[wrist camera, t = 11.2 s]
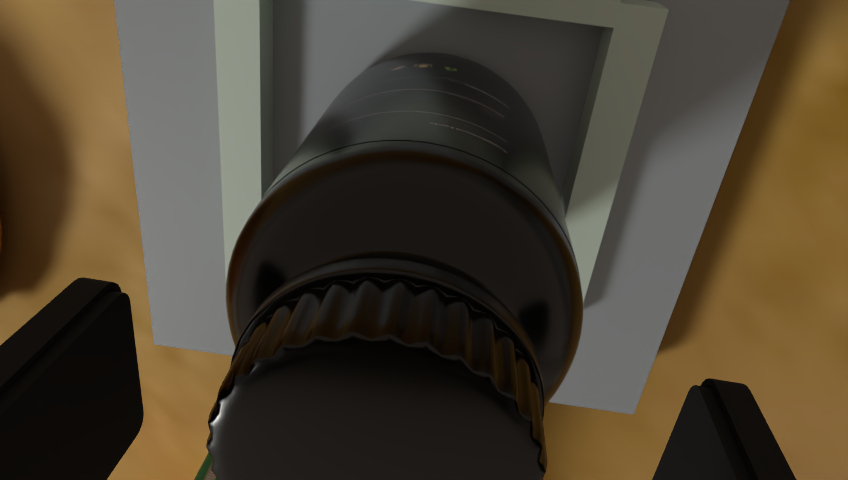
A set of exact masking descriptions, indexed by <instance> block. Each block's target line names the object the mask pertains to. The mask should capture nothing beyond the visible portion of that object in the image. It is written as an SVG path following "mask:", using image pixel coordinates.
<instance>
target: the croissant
mask: <svg viewBox="0 0 848 480" xmlns="http://www.w3.org/2000/svg"><path fill="white" fill-rule="evenodd" d="M1 244H2V229H1V216H0V256H1Z"/></svg>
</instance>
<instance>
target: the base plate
mask: <svg viewBox="0 0 848 480" xmlns="http://www.w3.org/2000/svg"><path fill="white" fill-rule="evenodd" d="M789 2H790V0H114V3H115V12H116V20H117V29H118V37H119V46H120V55H121V63H122V72H123V81H124V89H125V98H126V106H127V115H128V124H129V132H130V141H131V149H132V158H133V167H134V175H135V184H136V193H137V201H138V210H139V218H140V227H141V236H142V244H143V253H144V261H145V270H146V279H147V287H148V296H149V304H150V313H151V322H152V330H153V339H154V344H156V345H162V346H169V347H176V348H183V349H190V350H197V351H203V352H210V353H217V354H224V355H231V356H233V353H234V350H235V345H234V342H233V339H232V336H231V332H230V327H229V322H228V317H227V309H226V279H227V272H228V266H229V262H230V259H231V255H232V251H233V248H234V246H235V244H236V241H237V239H238V236H239V234H240V233H241V231H242V229H243V227H244V225H245V223H246V222H247V220H248V218H249V216H250V215H251V214H252V212H253V211H254V209H255V208H256V206H257V205H258V204H259V202H260V201H261V199H262V197H264V194H265V193H266V192H267V190H268V189H269V188H270V186H271V185H272V183H273V182H274V181H275V179H276V178H277V177H278V175H279V174H280V172H281V171H282V170H283V168H284V167H285V166H286V164H287V163H288V162H289V160H290V159H291V157H292V156H293V155H294V153H295V152H296V151H297V149H298V148H299V147H300V145H301V144H302V142H303V141H304V140H305V138H306V137H307V136H308V134H309V133H310V131H311V130H312V129H313V127H314V126H315V125H316V123H317V122H318V121H319V119H320V118H321V116H322V115H323V114H324V112H325V111H326V110H327V108H328V107H329V106H330V104H331V103H332V102H333V101H334V99H335V98H336V97H337V96H338V94H339V93H340V92H341V91H342V90H343V89H344V88H345V87H346V86H347V85H348V84H349V83H350V82H351V81H352V80H353V79H355V78H356V77H357V76H359V75H360V74H361V73H363V72H364V71H366V70H367V69H369V68H371V67H373V66H374V65H376V64H379V63H381V62H383V61H385V60H388V59H391V58H394V57H397V56H402V55H406V54H413V53H431V52H433V53H444V54H450V55H455V56H459V57H463V58H466V59H469V60H472V61H474V62H476V63H479V64H481V65H483V66H485V67H487V68H488V69H490V70H492V71H493V72H495V73H496V74H498V75H499V76H501V77H502V78H503V79H504V80H505V81H507V82H508V83H509V84H510V85H511V86H512V87H513V88H514V89H515V90H516V91H517V92H518V93H519V95H520V96H521V97H522V98H523V100H524V101H525V102H526V104H527V105H528V107H529V109H530V110H531V112H532V114H533V116H534V118H535V120H536V122H537V124H538V126H539V129H540V132H541V135H542V138H543V141H544V143H545V147H546V151H547V154H548V158H549V162H550V165H551V169H552V173H553V176H554V180H555V184H556V188H557V191H558V195H559V199H560V202H561V206H562V210H563V213H564V217H565V221H566V224H567V228H568V232H569V235H570V239H571V243H572V247H573V250H574V254H575V258H576V262H577V266H578V270H579V275H580V281H581V288H582V296H583V323H582V332H581V337H580V341H579V345H578V349H577V352H576V355H575V357H574V360H573V363H572V365H571V367H570V369H569V371H568V373H567V375H566V377H565V379H564V380H563V382H562V384H561V385H560V387H559V388H558V390H557V391H556V393H555V394H554V395H553V397H552V398H551V399H550V400H549V402H552V403H559V404H566V405H572V406H579V407H586V408H593V409H600V410H607V411H613V412H620V413H627V414H634V412H635V410H636V407H637V404H638V402H639V399H640V396H641V394H642V391H643V388H644V386H645V383H646V380H647V378H648V375H649V373H650V370H651V367H652V365H653V362H654V359H655V357H656V354H657V351H658V349H659V346H660V343H661V341H662V338H663V335H664V333H665V330H666V328H667V325H668V322H669V320H670V317H671V314H672V312H673V309H674V306H675V304H676V301H677V298H678V296H679V293H680V291H681V288H682V285H683V283H684V280H685V277H686V275H687V272H688V269H689V267H690V264H691V261H692V259H693V256H694V253H695V251H696V248H697V246H698V243H699V240H700V238H701V235H702V232H703V230H704V227H705V224H706V222H707V219H708V216H709V214H710V211H711V209H712V206H713V203H714V201H715V198H716V195H717V193H718V190H719V187H720V185H721V182H722V179H723V177H724V174H725V171H726V169H727V166H728V164H729V161H730V158H731V156H732V153H733V150H734V148H735V145H736V142H737V140H738V137H739V134H740V132H741V129H742V127H743V124H744V121H745V119H746V116H747V113H748V111H749V108H750V105H751V103H752V100H753V97H754V95H755V92H756V90H757V87H758V84H759V82H760V79H761V76H762V74H763V71H764V68H765V66H766V63H767V60H768V58H769V55H770V52H771V50H772V47H773V45H774V42H775V39H776V37H777V34H778V31H779V29H780V26H781V23H782V21H783V18H784V15H785V13H786V10H787V8H788V5H789Z"/></svg>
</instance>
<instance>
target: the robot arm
mask: <svg viewBox="0 0 848 480" xmlns="http://www.w3.org/2000/svg"><path fill="white" fill-rule="evenodd" d="M142 422H143V404H142V396H141V387H140V379H139V371H138V363H137V354H136V346H135V338H134V330H133V321H132V313H131V305H130V299H129V296H128V295H127V294H125V293H121V289H120V287H119V285H118V284H116V283H114V282H108V281H102V280H95V279H89V278H78V279H77V280H75V281H73V282H72V283H71V284H70V285H69V286H68V287H67V288H65V289H64V290H63V291H62V292H61V293H60V294H59V295H58V296H56V297H55V298H54V299H53V300H52V301H51V302H50V303H48V304H47V305H46V306H45V307H44V308H43V309H42V310H40V311H39V312H38V313H37V314H36V315H35V316H34V317H32V318H31V319H30V320H29V321H28V322H27V323H26V324H24V325H23V326H22V327H21V328H20V329H19V330H18V331H16V332H15V333H14V334H13V335H12V336H11V337H10V338H8V339H7V340H6V341H5V342H4V343H3V344H2V345H1V346H0V480H107V478H108V477H109V475H110V474H111V472H112V471H113V470H114V468H115V467H116V465H117V464H118V462H119V461H120V459H121V458H122V456H123V455H124V454H125V452H126V451H127V449H128V448H129V446H130V445H131V443H132V442H133V440H134V439H135V438H136V436H137V434H138V433H139V431H140V428H141V425H142ZM652 480H796V478H795V476H794V474H793V472H792V470H791V469H790V467H789V465H788V463H787V461H786V459H785V457H784V455H783V453H782V451H781V449H780V447H779V445H778V443H777V441H776V440H775V438H774V436H773V434H772V432H771V430H770V428H769V426H768V424H767V422H766V420H765V418H764V416H763V414H762V412H761V410H760V409H759V407H758V405H757V403H756V401H755V399H754V397H753V395H752V393H751V391H750V390H749V388H748V387H747V386H746V385H744V384H741V383H735V382H728V381H722V380H716V379H710V378H709V379H706V380H705V381H704V382H703V383H702V384H701V386H697V385H695V386H692V387H691V388H690V390H689V392H688V394H687V397H686V399H685V402H684V404H683V406H682V409H681V411H680V414H679V416H678V419H677V421H676V423H675V426H674V428H673V431H672V433H671V436H670V438H669V440H668V443H667V445H666V448H665V450H664V453H663V455H662V457H661V460H660V462H659V465H658V467H657V470H656V472H655V474H654V477H653V479H652Z"/></svg>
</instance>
